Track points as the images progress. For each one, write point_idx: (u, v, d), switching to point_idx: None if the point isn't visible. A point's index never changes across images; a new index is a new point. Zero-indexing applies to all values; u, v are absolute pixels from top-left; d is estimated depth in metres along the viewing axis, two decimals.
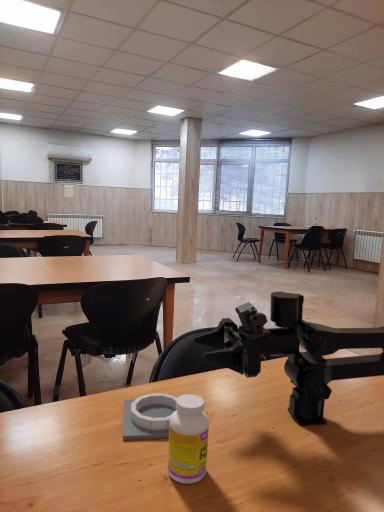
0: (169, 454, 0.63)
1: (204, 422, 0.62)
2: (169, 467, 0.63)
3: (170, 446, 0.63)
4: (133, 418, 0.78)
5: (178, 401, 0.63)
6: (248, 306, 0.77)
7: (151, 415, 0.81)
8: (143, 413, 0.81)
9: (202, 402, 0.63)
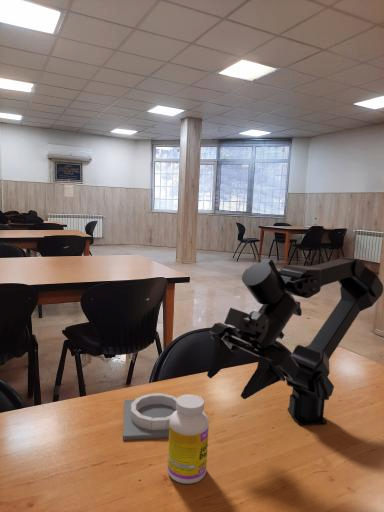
0: (169, 454, 0.63)
1: (204, 422, 0.62)
2: (169, 467, 0.63)
3: (170, 446, 0.63)
4: (133, 418, 0.78)
5: (178, 401, 0.63)
6: (238, 316, 0.67)
7: (151, 415, 0.81)
8: (143, 413, 0.81)
9: (202, 402, 0.63)
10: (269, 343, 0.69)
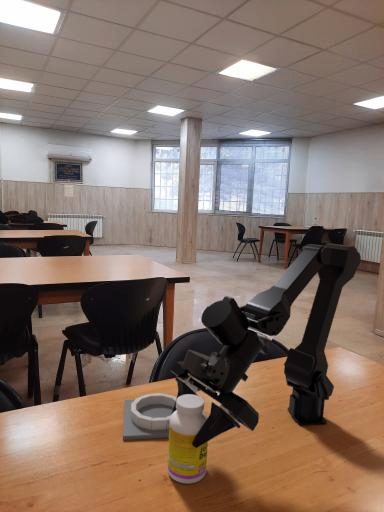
0: (169, 454, 0.63)
1: (204, 421, 0.62)
2: (169, 467, 0.63)
3: (170, 446, 0.63)
4: (133, 418, 0.78)
5: (178, 401, 0.63)
6: (195, 360, 0.62)
7: (151, 415, 0.81)
8: (143, 413, 0.81)
9: (202, 402, 0.63)
10: (231, 387, 0.65)
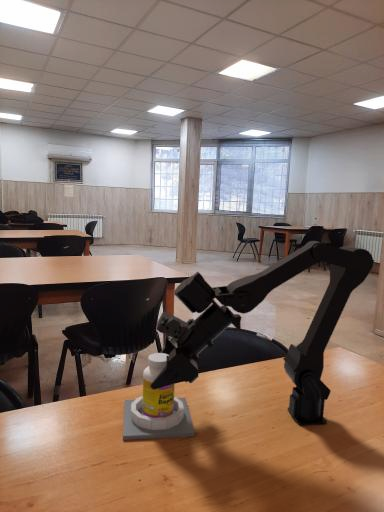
0: None
1: None
2: None
3: None
4: (133, 418, 0.78)
5: (150, 355, 0.80)
6: (160, 319, 0.78)
7: None
8: None
9: None
10: (191, 348, 0.77)
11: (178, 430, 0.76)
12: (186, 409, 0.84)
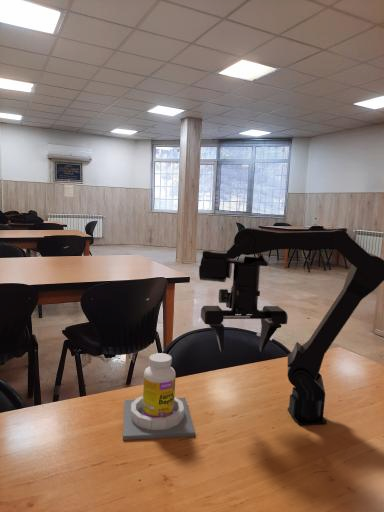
0: None
1: (166, 375, 0.77)
2: None
3: (143, 389, 0.80)
4: (133, 418, 0.78)
5: (151, 355, 0.80)
6: None
7: None
8: None
9: (167, 360, 0.78)
10: (232, 304, 0.84)
11: (178, 430, 0.76)
12: (186, 409, 0.84)
